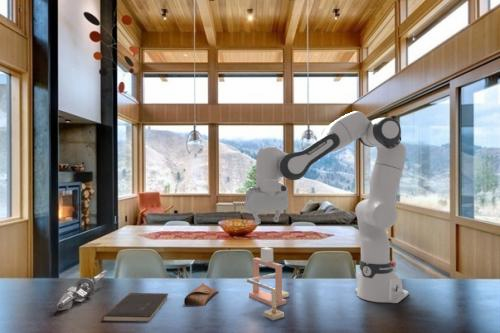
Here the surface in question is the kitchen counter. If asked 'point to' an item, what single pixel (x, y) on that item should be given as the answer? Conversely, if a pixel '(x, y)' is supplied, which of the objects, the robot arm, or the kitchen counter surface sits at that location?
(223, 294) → the kitchen counter surface
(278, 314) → the bent towel rail
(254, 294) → the pink frame with handle
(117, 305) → the hardcover book
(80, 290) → the spaceship
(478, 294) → the kitchen counter surface
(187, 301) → the sunglasses case
